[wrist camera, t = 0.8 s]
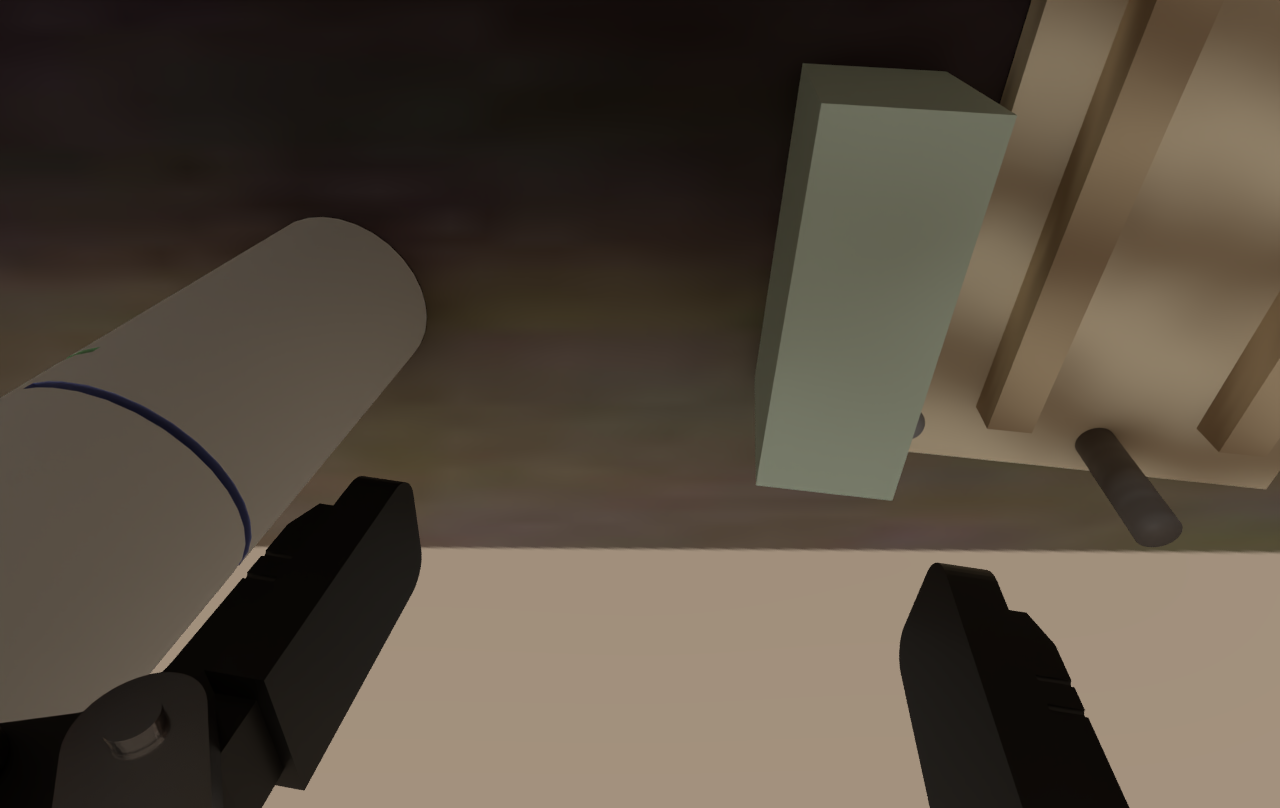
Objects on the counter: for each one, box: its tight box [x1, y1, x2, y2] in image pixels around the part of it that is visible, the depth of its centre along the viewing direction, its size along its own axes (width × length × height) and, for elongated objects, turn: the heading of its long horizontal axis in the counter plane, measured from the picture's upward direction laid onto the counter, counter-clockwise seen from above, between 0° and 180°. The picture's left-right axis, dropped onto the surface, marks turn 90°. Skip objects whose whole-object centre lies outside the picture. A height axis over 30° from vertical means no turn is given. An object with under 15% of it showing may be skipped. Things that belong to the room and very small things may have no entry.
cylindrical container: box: [0, 217, 427, 723], centre depth 19 cm, size 7×7×25 cm
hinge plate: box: [908, 0, 1280, 547], centre depth 20 cm, size 20×14×6 cm
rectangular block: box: [754, 63, 1017, 501], centre depth 22 cm, size 12×6×7 cm, turn 178°
